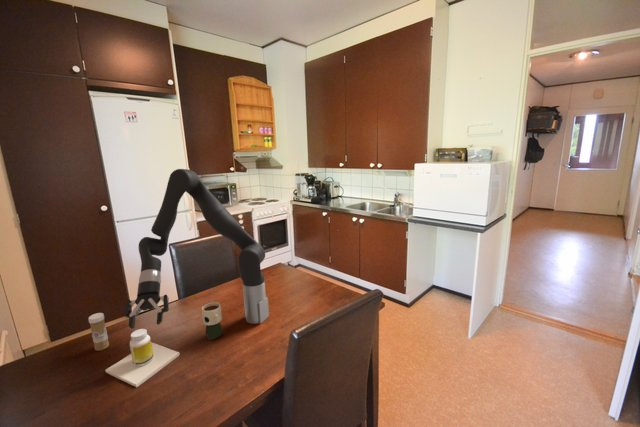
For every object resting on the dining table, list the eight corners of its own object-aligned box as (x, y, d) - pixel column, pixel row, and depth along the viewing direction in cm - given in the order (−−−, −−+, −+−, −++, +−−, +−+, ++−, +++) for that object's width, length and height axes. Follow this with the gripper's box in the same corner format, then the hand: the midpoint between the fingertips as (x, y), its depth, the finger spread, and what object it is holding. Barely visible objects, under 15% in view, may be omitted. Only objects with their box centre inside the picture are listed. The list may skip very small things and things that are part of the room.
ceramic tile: (179, 355, 105) (179, 352, 104) (136, 387, 90) (136, 384, 90) (150, 343, 111) (149, 341, 111) (105, 372, 97) (105, 370, 97)
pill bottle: (157, 356, 103) (153, 329, 100) (142, 368, 97) (137, 339, 95) (144, 353, 105) (140, 325, 102) (128, 364, 99) (123, 336, 97)
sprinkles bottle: (93, 352, 107) (86, 320, 104) (96, 345, 111) (90, 314, 108) (108, 349, 109) (101, 317, 106) (110, 342, 113) (104, 311, 110)
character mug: (200, 333, 117) (196, 304, 114) (217, 326, 122) (214, 298, 119) (211, 346, 109) (207, 315, 106) (228, 338, 114) (226, 308, 111)
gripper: (125, 282, 108) (119, 327, 100) (167, 277, 112) (164, 320, 103) (132, 289, 114) (127, 332, 106) (171, 284, 118) (169, 324, 110)
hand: (145, 326), depth 105 cm, fingers open, 8 cm apart
